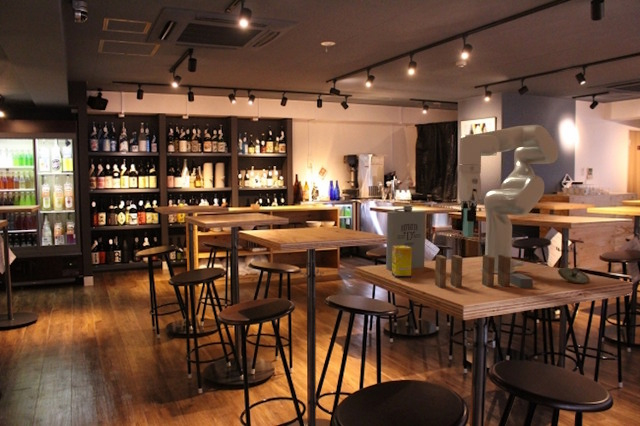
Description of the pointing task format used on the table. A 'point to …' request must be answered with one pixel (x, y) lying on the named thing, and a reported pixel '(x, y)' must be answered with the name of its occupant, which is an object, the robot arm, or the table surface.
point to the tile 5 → (504, 270)
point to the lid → (573, 275)
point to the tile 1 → (440, 271)
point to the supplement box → (401, 261)
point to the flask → (406, 234)
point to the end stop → (521, 281)
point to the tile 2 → (456, 271)
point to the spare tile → (467, 225)
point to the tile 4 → (488, 270)
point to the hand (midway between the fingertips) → (468, 220)
